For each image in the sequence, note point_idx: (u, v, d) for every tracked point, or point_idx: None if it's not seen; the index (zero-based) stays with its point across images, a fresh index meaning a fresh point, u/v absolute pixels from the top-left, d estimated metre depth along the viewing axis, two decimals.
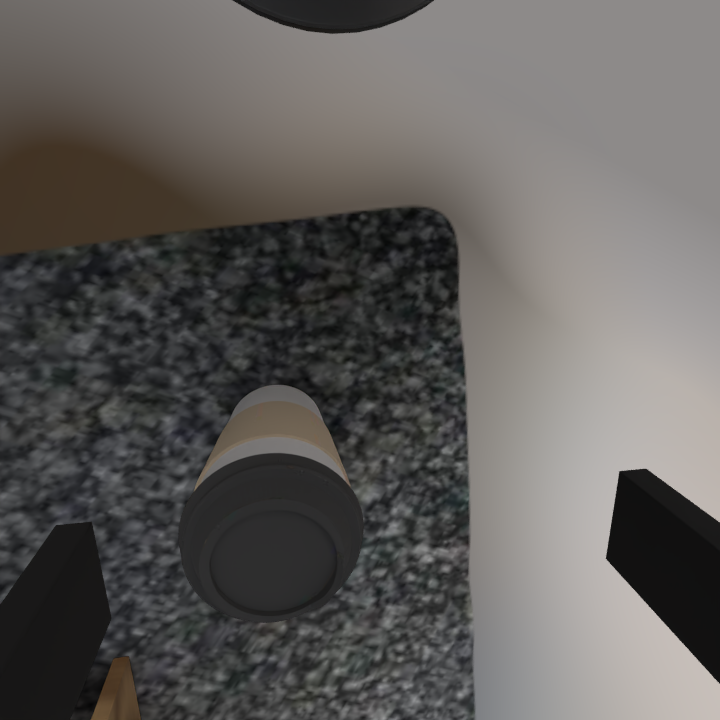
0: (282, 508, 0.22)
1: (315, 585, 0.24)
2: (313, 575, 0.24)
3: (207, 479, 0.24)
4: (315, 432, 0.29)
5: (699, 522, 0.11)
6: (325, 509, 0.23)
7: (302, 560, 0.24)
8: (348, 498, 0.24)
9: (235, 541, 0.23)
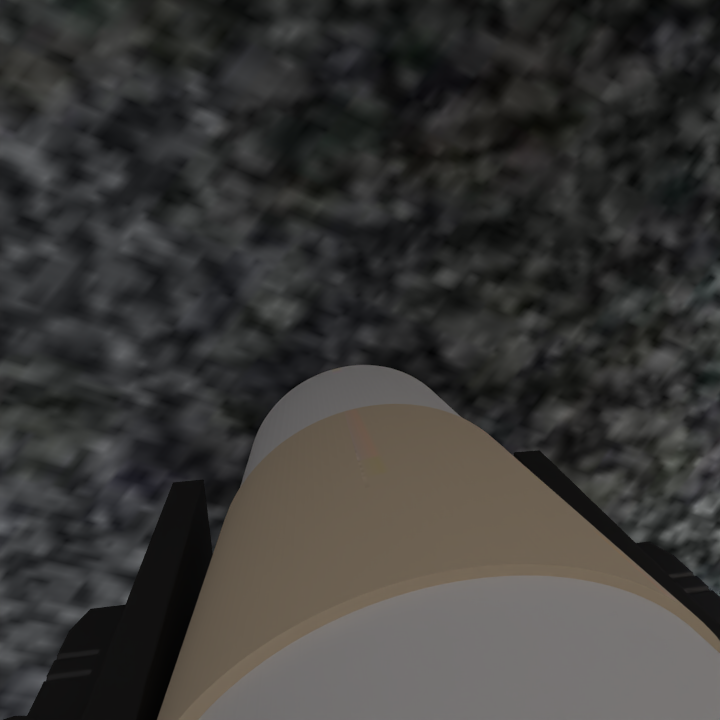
0: None
1: None
2: None
3: None
4: (582, 519, 0.08)
5: (568, 496, 0.12)
6: None
7: None
8: None
9: None
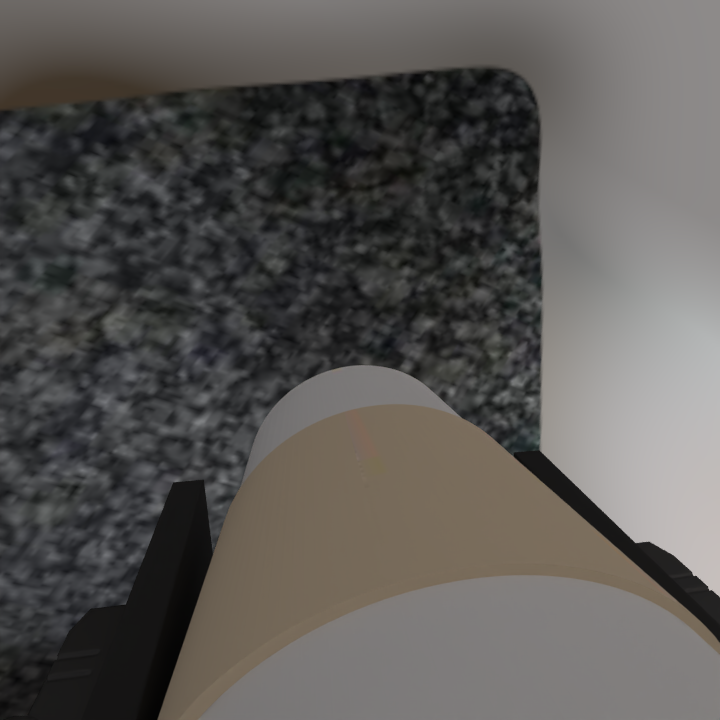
0: None
1: None
2: None
3: None
4: (581, 519, 0.08)
5: (568, 496, 0.12)
6: None
7: None
8: None
9: None
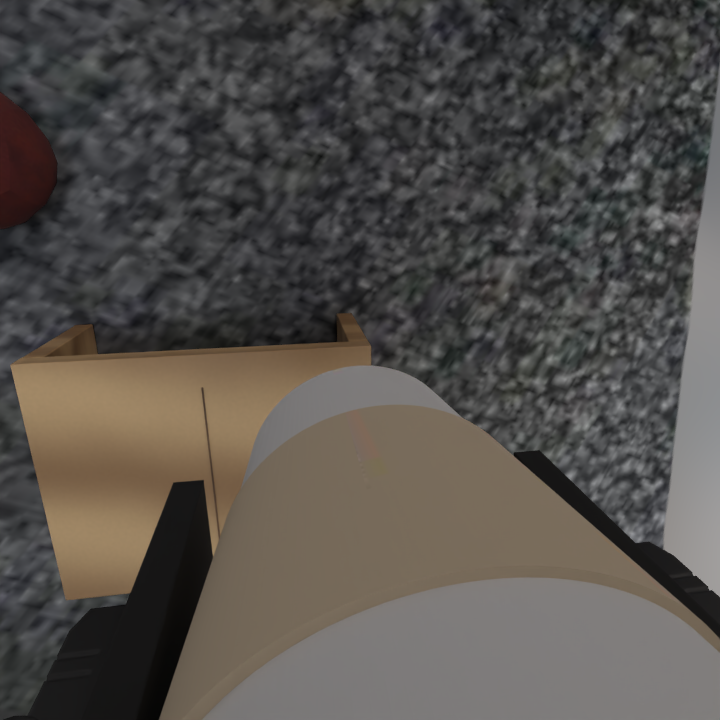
0: None
1: None
2: None
3: None
4: (584, 520, 0.08)
5: (568, 496, 0.12)
6: None
7: None
8: None
9: None
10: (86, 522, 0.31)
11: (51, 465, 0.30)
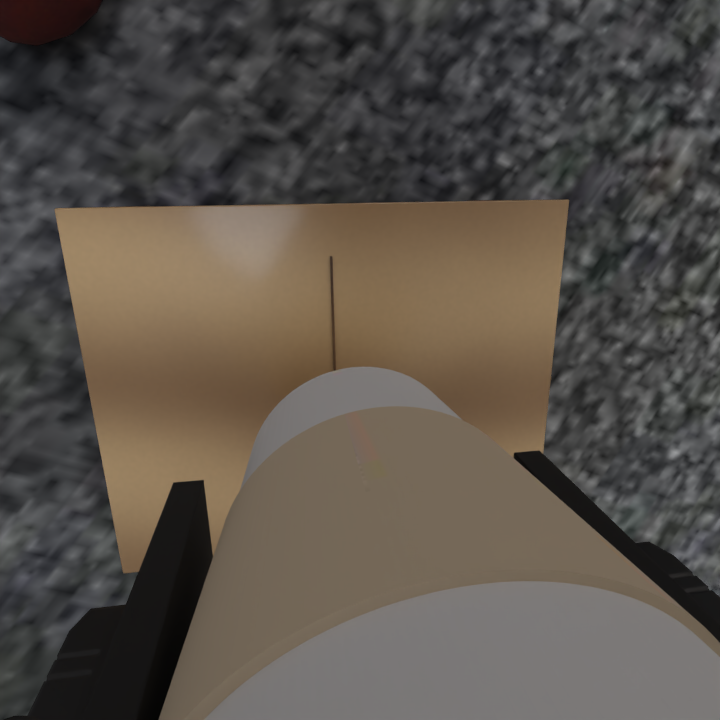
0: None
1: None
2: None
3: None
4: (583, 522, 0.08)
5: (568, 496, 0.12)
6: None
7: None
8: None
9: None
10: (156, 459, 0.22)
11: (109, 371, 0.20)
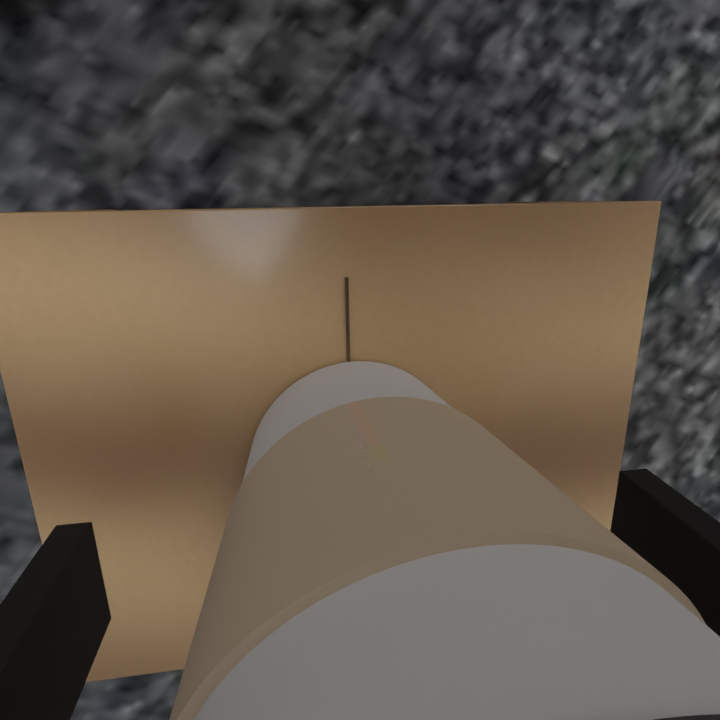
0: None
1: None
2: None
3: None
4: (569, 498, 0.09)
5: (699, 522, 0.11)
6: None
7: None
8: None
9: None
10: (115, 542, 0.17)
11: (49, 432, 0.15)
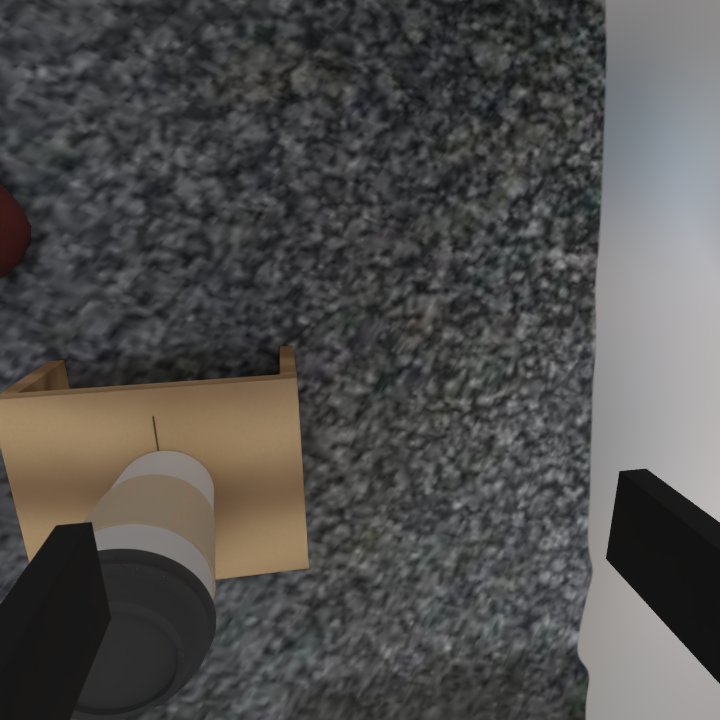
0: (112, 610, 0.22)
1: (159, 680, 0.24)
2: (155, 671, 0.24)
3: None
4: (178, 512, 0.28)
5: (699, 522, 0.11)
6: (161, 607, 0.23)
7: (142, 657, 0.23)
8: (190, 591, 0.24)
9: None
10: None
11: (24, 484, 0.35)
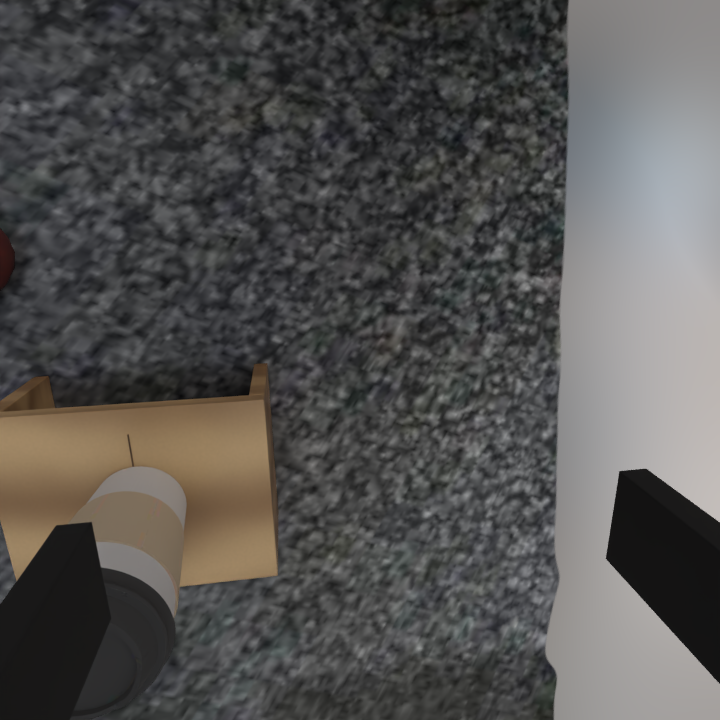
0: None
1: (120, 685, 0.26)
2: (117, 677, 0.26)
3: None
4: (145, 529, 0.31)
5: (699, 522, 0.11)
6: (120, 621, 0.25)
7: (104, 665, 0.26)
8: (149, 606, 0.26)
9: None
10: (37, 541, 0.39)
11: (8, 497, 0.37)
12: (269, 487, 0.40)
